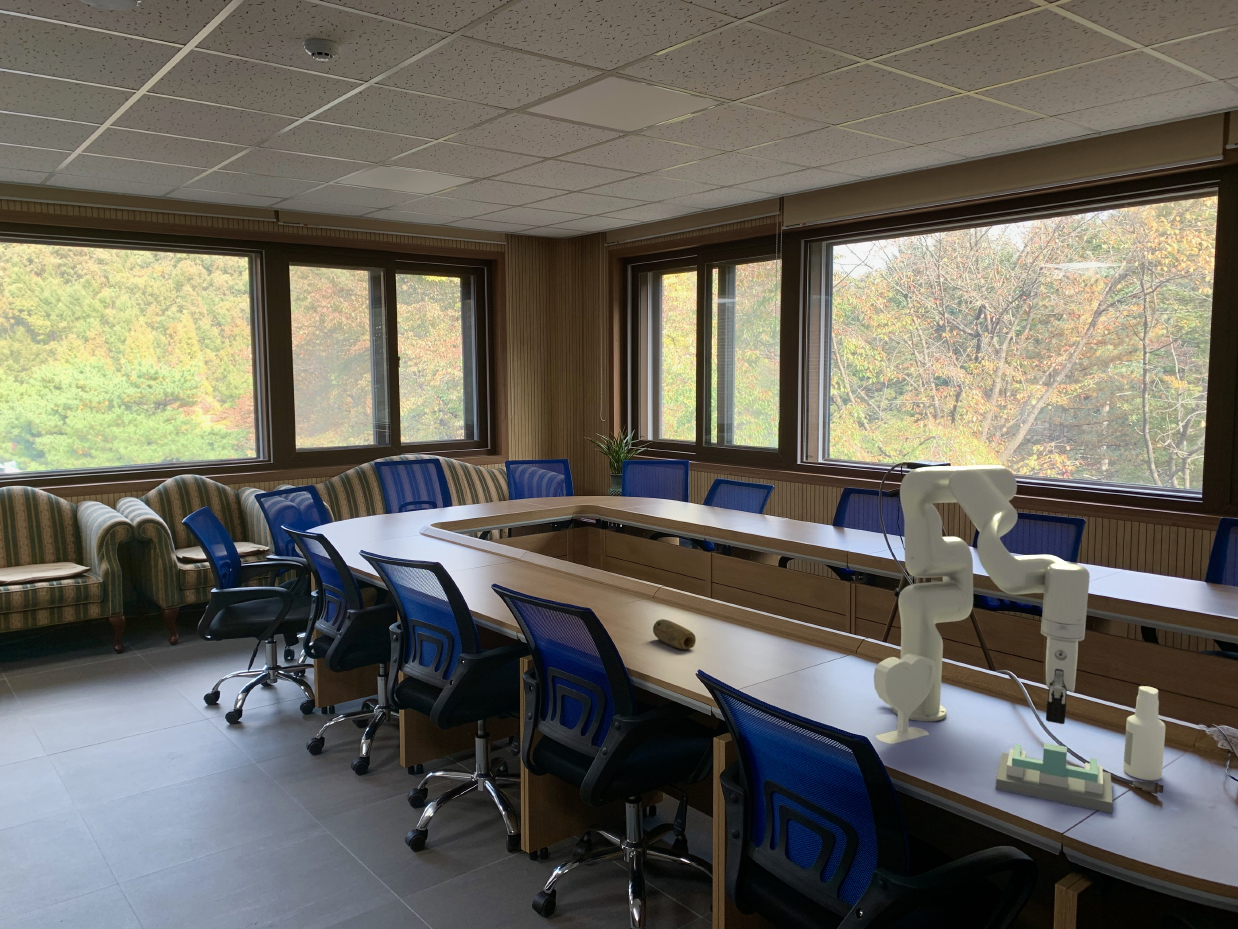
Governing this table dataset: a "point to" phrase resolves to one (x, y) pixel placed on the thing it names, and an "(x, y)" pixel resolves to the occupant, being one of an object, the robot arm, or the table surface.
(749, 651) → the table surface
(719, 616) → the table surface
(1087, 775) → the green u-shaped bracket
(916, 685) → the heart sculpture
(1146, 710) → the white bottle
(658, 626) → the stone weight
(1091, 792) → the stand
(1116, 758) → the table surface
